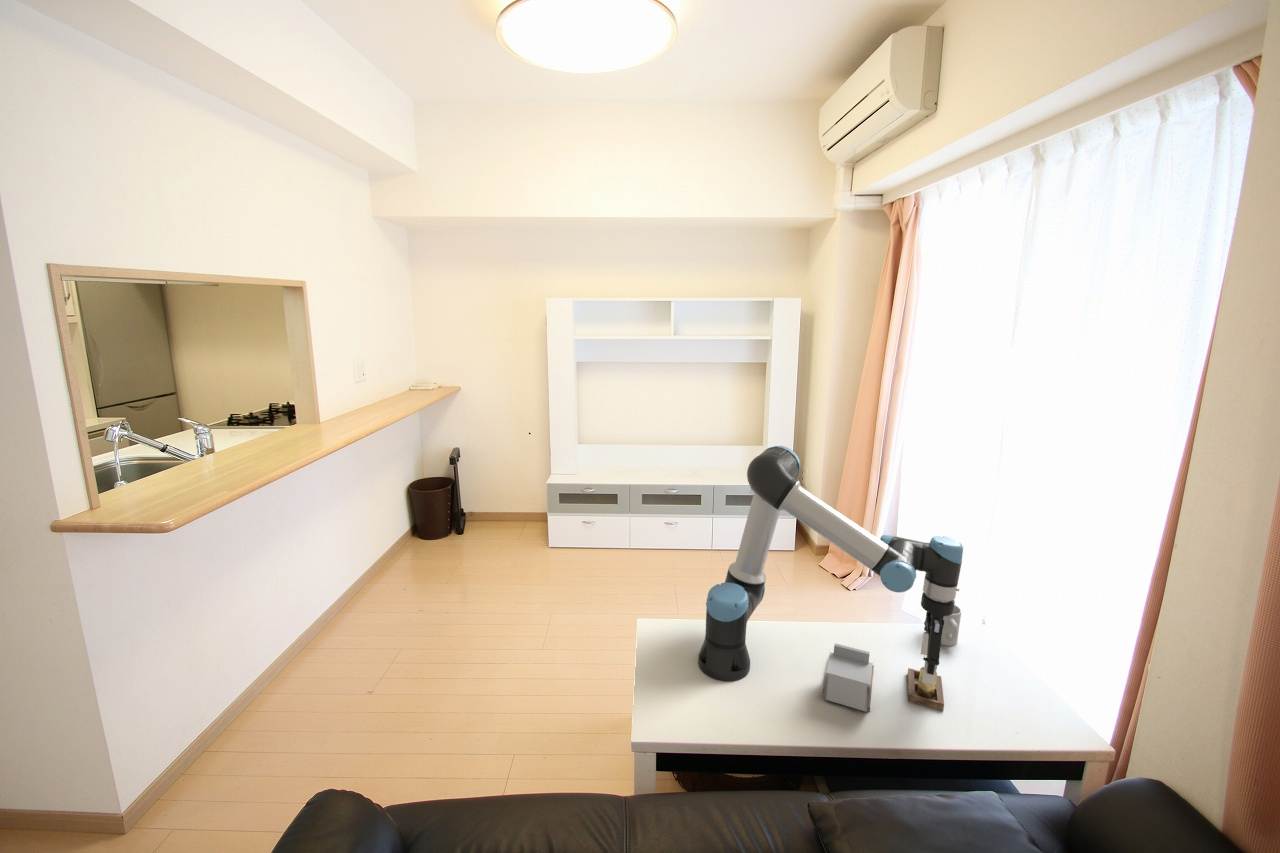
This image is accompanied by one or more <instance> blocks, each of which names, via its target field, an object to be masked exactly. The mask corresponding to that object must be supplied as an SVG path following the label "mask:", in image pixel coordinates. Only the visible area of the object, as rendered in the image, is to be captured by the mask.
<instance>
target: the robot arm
mask: <svg viewBox="0 0 1280 853" xmlns="http://www.w3.org/2000/svg"><path fill="white" fill-rule="evenodd" d="M800 472H801V461H800V458H799V456H798V455H797V453H795V452H794V451H793V450H792V449H791V448H789V447H788V446H783V445H775V446H771V447H768V448H766V449H765V450H763V452H762V453H760V454H759V455H758V456H755V457H754V458H753V459H752V460H751V461H750V463H749V464H748V467H747V472H746V479H747V482H748V484H749V486H750V487H749V488H750V490H751V491H752V493H753V496H752V499H751V503H750V507H749V510H748V514H747V516H746V522H745V524H744V528H743V529H744V530H743V534H742V536H741V540H740V544H739V548H738V550H737V555H736V559H735V562H732V563H731V564H729V566H728V569H727V572H726V576H725V580H724V582H721V583H720V584H719V583H717V584H715V585H714V586H712V587H711V588H710V589H709V591H708V593H707V598H706V601H705V606H706V612H705V635H704V640H703V643H702V644H701V647H700V649H699V652H698V656H697V657H698V661H697V664H698V667H699V669H700V671H701V672H703V673H704V674H705V675H706V676H708V677H710V678H712V679H715V680H719V681H725V682H733V681H738V680H741V679H743V678H745V677H747V675H748V674H749V672H750V669H751V658H750V655H749V651H748V647H747V644H746V640H747V639H746V638H747V637H746V636H747V625H748V624H747V623H748V621H749V619H750V618H751V616H752V615H753V613H754V611H755V610H756V608H757V607H758V606H759V605H760V603H761V602H762V601H763V599H764V595H765V593H766V592H765V590H766V584H765V583H766V580H767V576H766V573H765V572H764V568H765V564H766V561H767V558H768V555H769V550H770V547H771V544H772V539H773V537H774V534H775V530H776V526H777V522H778V519H779V515H780V512H782V511H784V512H787V513H788V514H789V515H790V516H792V517H794V518H796V519H797V520H798V521H800V522H801V523H802V524H804V525H805V526H807V527H808V528H810V529H811V530H813V531H814V532H816V533H817V534H819V536H821V537H823V538H824V539H825V540H827V541H829V542H830V543H831V544H832V545H835V546H836V547H837V548H839V549H840V550H841V551H843V552H844V553H846V554H848V555H849V556H851V557H852V558H853V559H855V560H857V561H858V562H859V563H860V564H862V565H863V566H864V567H866V568H867V569H869V570H870V571H872V572H873V573H875V574H876V575H877V576H879V577H880V578H879V579H880V581H881V583H882V584H883V586H884V588H886V589H887V590H889V591H891V592H894V593H906V592H907V591H909V590H911V588H913V585H914V583H915V581H916V578H917V572H916V571H919V572H924V573H925V574H924V575H925V576H924V579H923V587H922V591H923V592H922V594H921V599H920V600H921V601H920V607H922V609H923V610H924V611H926V614H925V620H924V622H923V624H924V627H923V630H924V632H923V636H922V640H921V648H920V655H923V656H924V657H923V658H922V659H923V661H924V666H923V667H924V672H923V678H922V682H924V683H927V684H931V685H934V682H935V676H936V672H937V669H938V666H939V665H940V657H941V656H940V654H941V647H942V645H941V636H942V629H943V626H944V620H943V616H949V615H951V614H952V613H953V610H954V605H956V604H955V602H956V601H955V599H956V596H957V592H959V591H960V588H959V587H958V584H959V579H960V573H961V568H962V563H963V553H964V547H963V544H962V543H961V542H960V541H959V540H956V539H955V538H952V537H948V536H940V535H939V536H938V535H936V536H933V537H931V539H930V541H929V542H924V541H919V540H914V539H908V538H904V537H901V536H896V535H888V534H883V535H881V536H880V538H878V537H877V536H875V535H874V534H872V533H871V532H870V531H868V530H866V529H864V528H863V527H862V526H860V525H859V524H857V523H856V522H855V521H853V520H851V519H850V518H848V517H847V516H845V515H844V514H842V513H841V512H839V511H838V510H837V509H834V507H832V506H831V505H829V504H828V503H826V502H825V501H823V500H821V499H820V498H819V497H817V496H815V495H814V494H813V493H811V492H809V491H808V490H806V489H805V488H804V487H803V486H801V482H800V480H799V479H798V477H799V475H800Z"/></svg>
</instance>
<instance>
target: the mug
mask: <svg viewBox="0 0 1280 853" xmlns="http://www.w3.org/2000/svg"><path fill="white" fill-rule="evenodd" d="M961 617H962V609H961V608H960V607H958V605H956V604H954V610H953V613H952V614H951V615H949V616H943V620H944V626H943V629H942V636H941V646H945V647H953V646H955V645H957V643H958V638H959V630H960V624H961Z"/></svg>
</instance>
